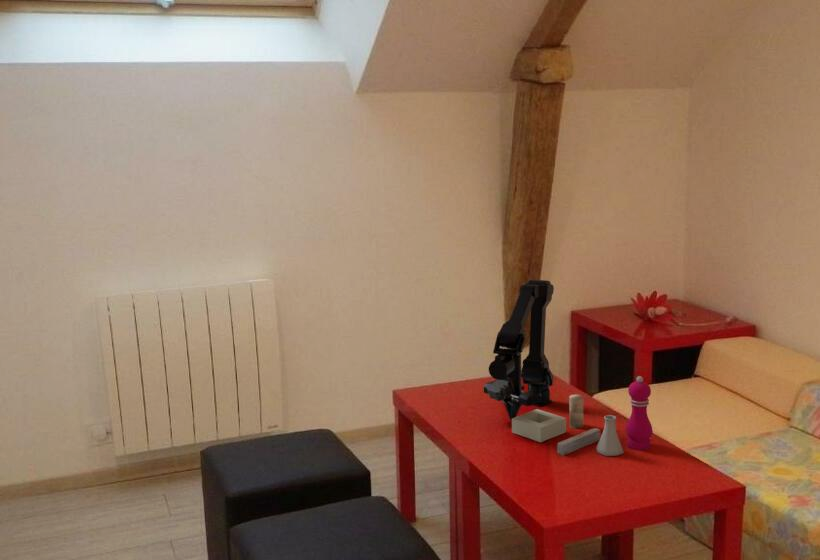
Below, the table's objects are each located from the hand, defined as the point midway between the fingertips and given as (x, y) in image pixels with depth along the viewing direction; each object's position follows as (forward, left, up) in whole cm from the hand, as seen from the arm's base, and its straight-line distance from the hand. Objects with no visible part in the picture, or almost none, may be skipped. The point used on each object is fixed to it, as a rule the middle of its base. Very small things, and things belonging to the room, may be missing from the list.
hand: (512, 420), depth 266 cm
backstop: (+25, 0, -1) cm, 25 cm away
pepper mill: (+37, +12, -1) cm, 38 cm away
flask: (+34, +3, -2) cm, 34 cm away
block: (+11, 0, -1) cm, 11 cm away
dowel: (+15, +12, -1) cm, 19 cm away
